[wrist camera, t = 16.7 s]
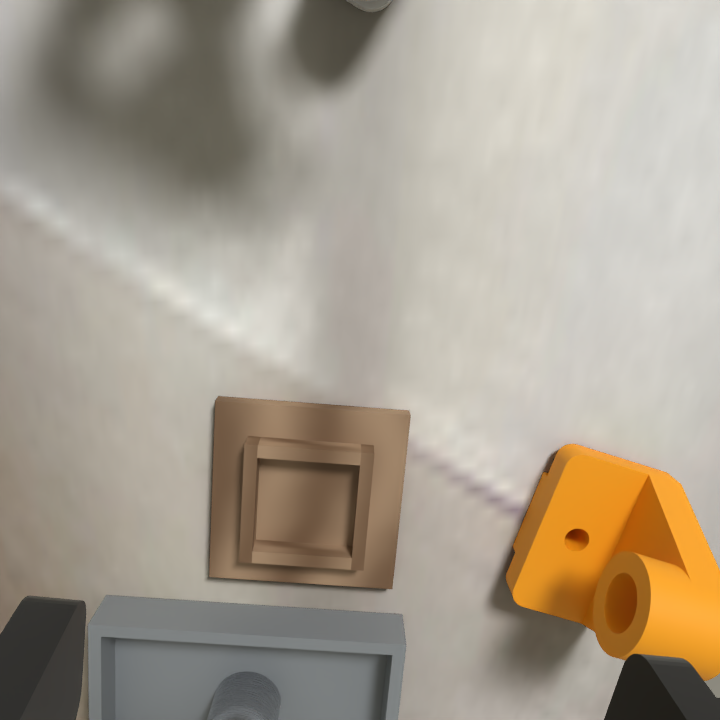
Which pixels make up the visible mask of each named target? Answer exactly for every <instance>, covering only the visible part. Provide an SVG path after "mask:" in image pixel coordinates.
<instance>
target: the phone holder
mask: <svg viewBox="0 0 720 720" xmlns="http://www.w3.org/2000/svg"><path fill="white" fill-rule="evenodd" d="M346 1H348V2H349V3H351V4H352V5H354V6H355V7H357V8H359V9H360V10H363V11H366V12H377V11H380V10H382V9H384V8H385V7H387V6H388V5H389V4H390V3H391V1H392V0H346Z"/></svg>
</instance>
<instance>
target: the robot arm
mask: <svg viewBox="0 0 720 720" xmlns="http://www.w3.org/2000/svg"><path fill="white" fill-rule="evenodd" d="M85 622H86V605H85V602H84V601H81V600H70V599H60V598H49V597H38V596H27V597H25V598H24V599H23V600H22V601H21V603H20V604H19V606H18V607H17V609H16V611H15V612H14V614H13V615H12V617H11V618H10V620H9V622H8V623H7V625H6V626H5V628H4V630H3V631H2V633H1V634H0V720H76V716H77V712H78V707H79V702H80V696H81V687H82V672H83V655H84V639H85ZM604 720H720V698H716V697H715V695H714V694H713V693H712V691H711V690H710V689H709V687H708V686H707V685H706V683H705V682H704V681H703V679H702V678H701V676H700V675H699V674H698V672H697V671H696V670H695V668H694V667H693V666H692V665H691V664H690V663H689V662H688V661H687V660H685V659H683V658H678V657H667V656H656V655H645V654H632V655H630V656H629V657H628V658H627V660H626V661H625V663H624V665H623V668H622V671H621V674H620V676H619V679H618V682H617V685H616V688H615V690H614V693H613V696H612V699H611V702H610V704H609V707H608V710H607V713H606V716H605V718H604Z"/></svg>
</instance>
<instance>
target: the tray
mask: <svg viewBox="0 0 720 720" xmlns="http://www.w3.org/2000/svg"><path fill="white" fill-rule="evenodd" d="M405 652H406V639H405V631H404V623H403V615H402V614H387V613H372V612H356V611H341V610H326V609H311V608H295V607H280V606H265V605H250V604H234V603H219V602H204V601H189V600H173V599H158V598H143V597H127V596H112V595H106V596H105V598H104V600H103V601H102V603H101V604H100V606H99V608H98V609H97V611H96V612H95V614H94V616H93V617H92V619H91V620H90V622H89V624H88V680H89V720H207V718H208V715H209V711H210V708H211V705H212V702H213V698H214V695H215V692H216V689H217V687H218V686H219V684H220V683H221V682H222V681H223V680H224V679H225V678H226V677H228V676H230V675H232V674H234V673H238V672H245V671H248V672H256V673H259V674H261V675H264V676H265V677H267V678H268V679H270V680H271V681H272V682H273V683H274V684H275V686H276V687H277V689H278V691H279V693H280V697H281V706H280V712H279V718H278V720H398V714H399V705H400V696H401V687H402V679H403V670H404V661H405Z"/></svg>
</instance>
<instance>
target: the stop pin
mask: <svg viewBox="0 0 720 720" xmlns="http://www.w3.org/2000/svg"><path fill="white" fill-rule="evenodd" d="M280 706H281V697H280V693H279V691H278V689H277V687H276V686H275V684H274V683H273V682H272V681H271V680H270V679H268V678H267V677H265V676H264V675H261V674H259V673H256V672H248V671H245V672H238V673H234V674H232V675H230V676H228V677H226V678H225V679H224V680H223V681H222V682H221V683H220V684H219V686H218V687H217V689H216V692H215V695H214V698H213V702H212V705H211V708H210V711H209V715H208V718H207V720H278V718H279V712H280Z"/></svg>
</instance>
